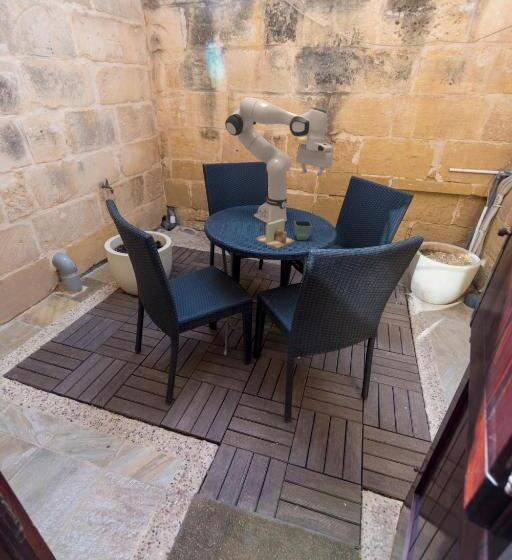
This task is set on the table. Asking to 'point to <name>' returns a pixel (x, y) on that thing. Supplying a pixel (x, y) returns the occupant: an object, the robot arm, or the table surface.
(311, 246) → the table surface
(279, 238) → the tan piece
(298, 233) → the flower pot
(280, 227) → the slot plate
